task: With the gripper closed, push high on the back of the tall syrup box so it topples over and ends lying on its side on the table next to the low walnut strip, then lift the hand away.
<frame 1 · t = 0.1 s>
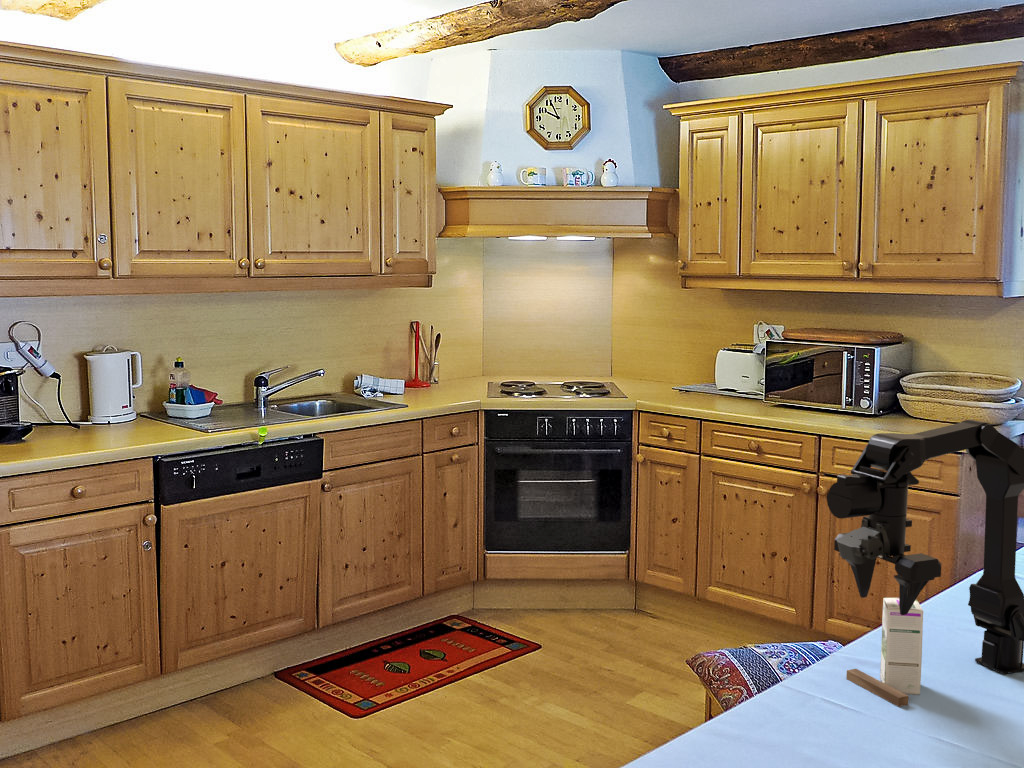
hand: (883, 605, 169), 15 cm above the table, tool pointing down, fingers open, 9 cm apart
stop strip: (876, 691, 171), on the table
syrup box: (899, 688, 173), on the table
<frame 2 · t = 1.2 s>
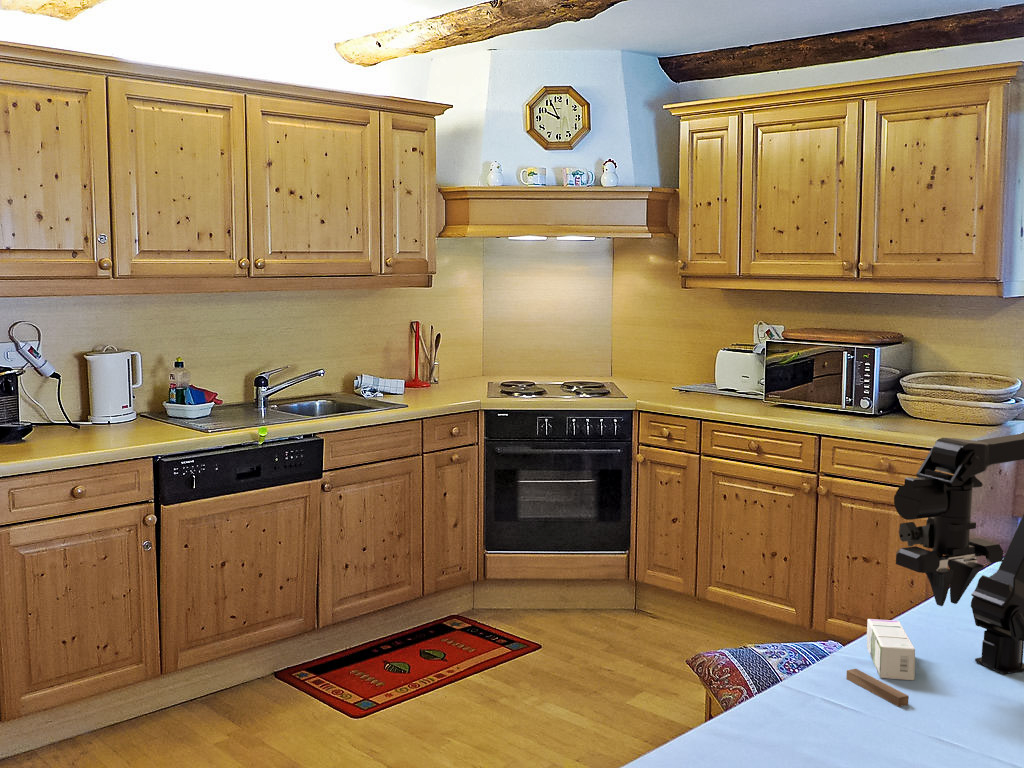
hand: (946, 604, 175), 13 cm above the table, tool pointing down, fingers open, 3 cm apart
syrup box: (897, 664, 175), point 3 cm above the table
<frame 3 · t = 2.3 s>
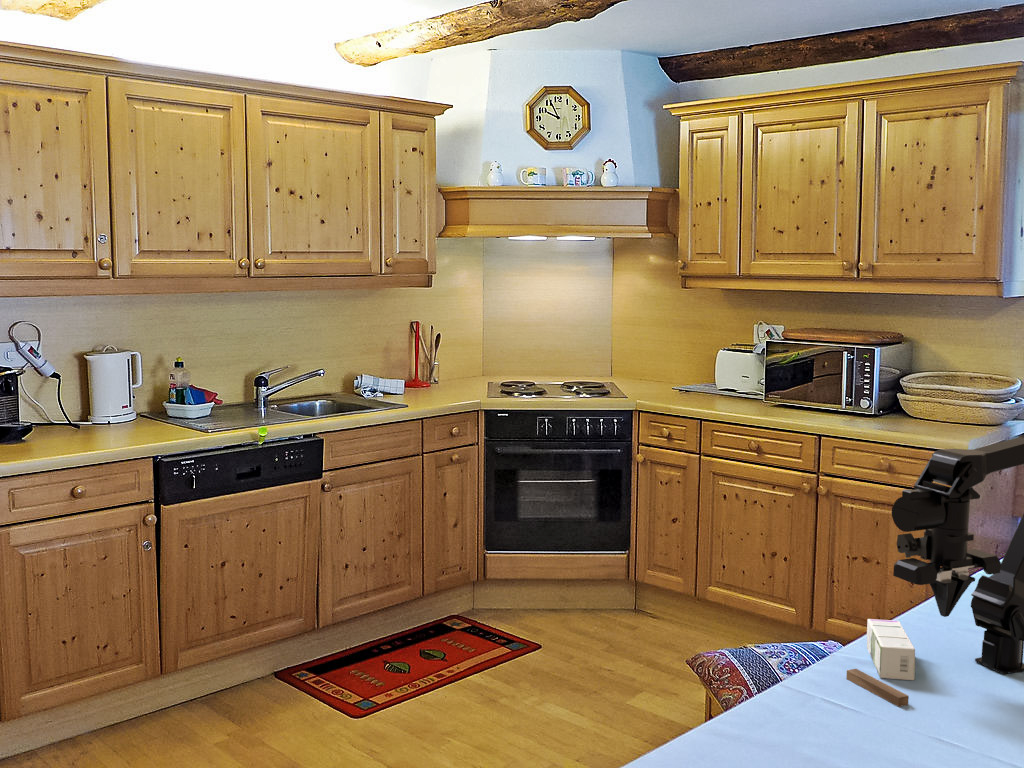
hand: (944, 615, 175), 11 cm above the table, tool pointing down, fingers closed
nothing on the table moved.
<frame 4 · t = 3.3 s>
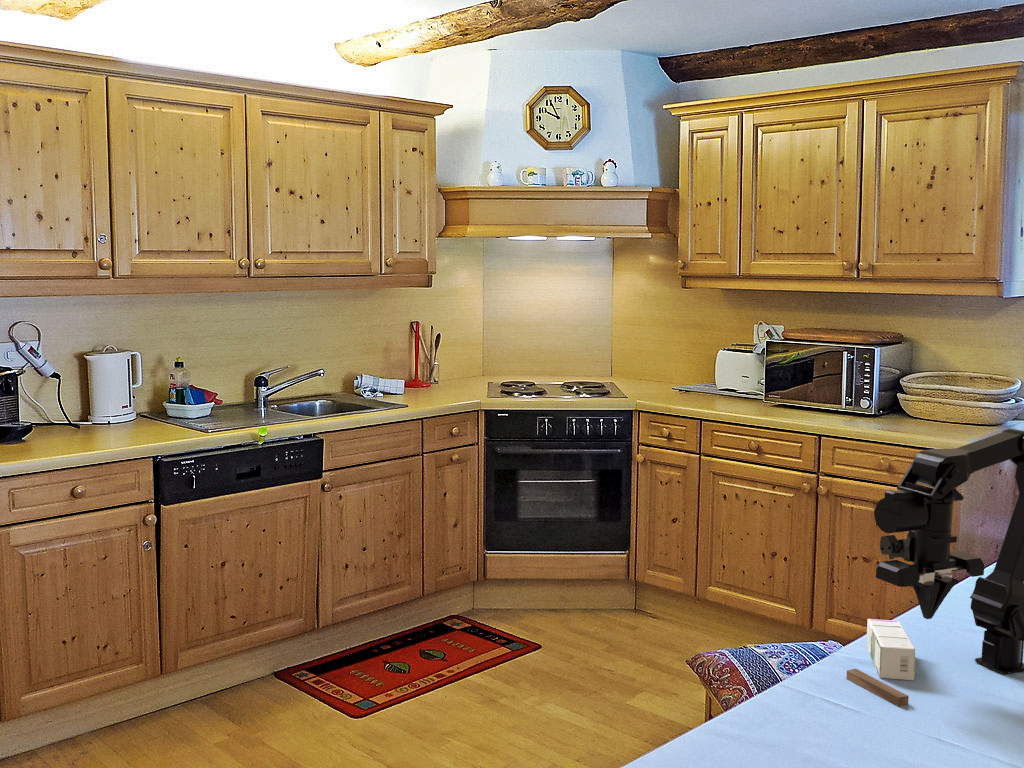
hand: (927, 618, 174), 11 cm above the table, tool pointing down, fingers closed
nothing on the table moved.
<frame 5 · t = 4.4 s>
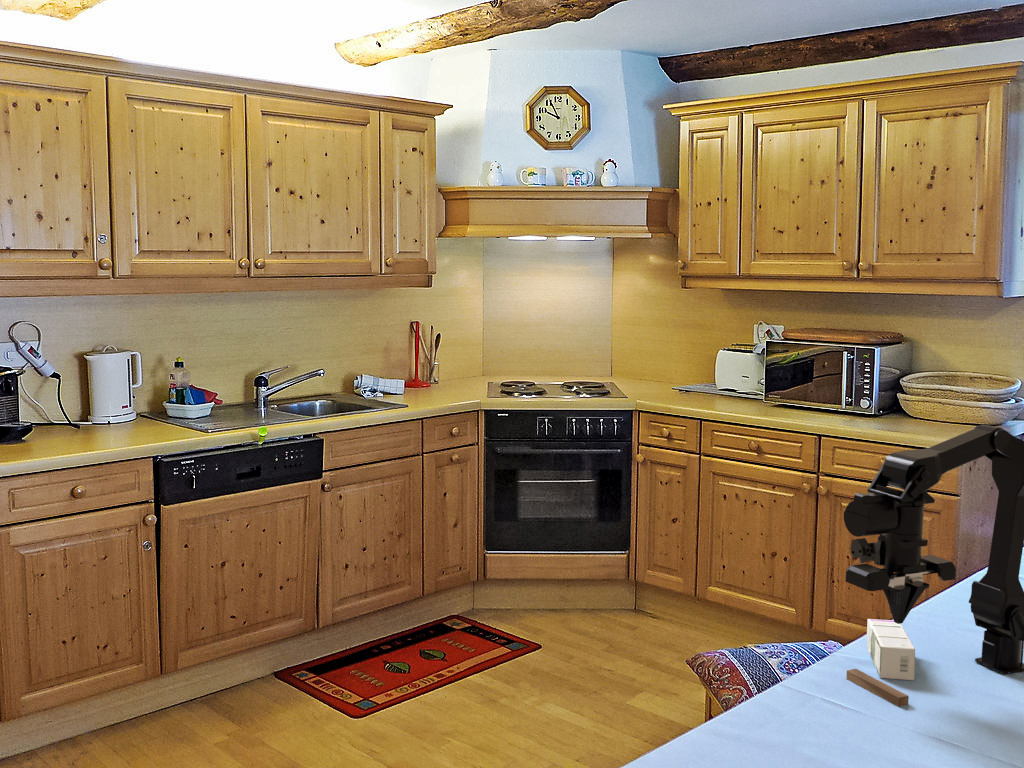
hand: (898, 622, 171), 11 cm above the table, tool pointing down, fingers closed
nothing on the table moved.
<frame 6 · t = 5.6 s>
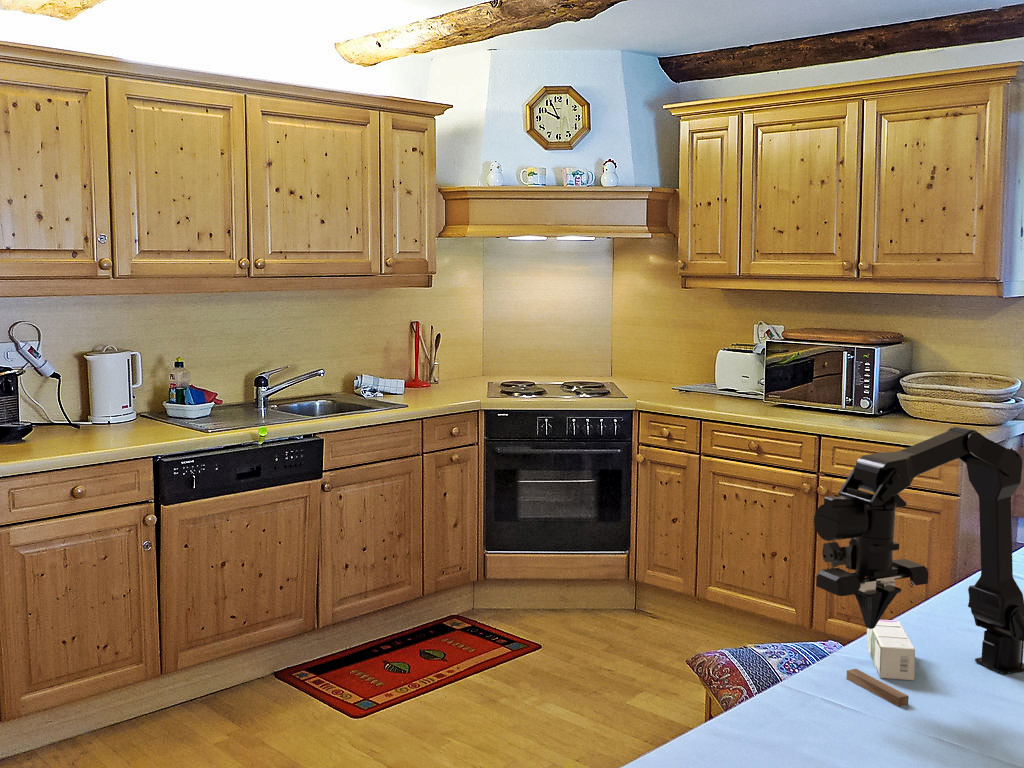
hand: (869, 628, 169), 11 cm above the table, tool pointing down, fingers closed
nothing on the table moved.
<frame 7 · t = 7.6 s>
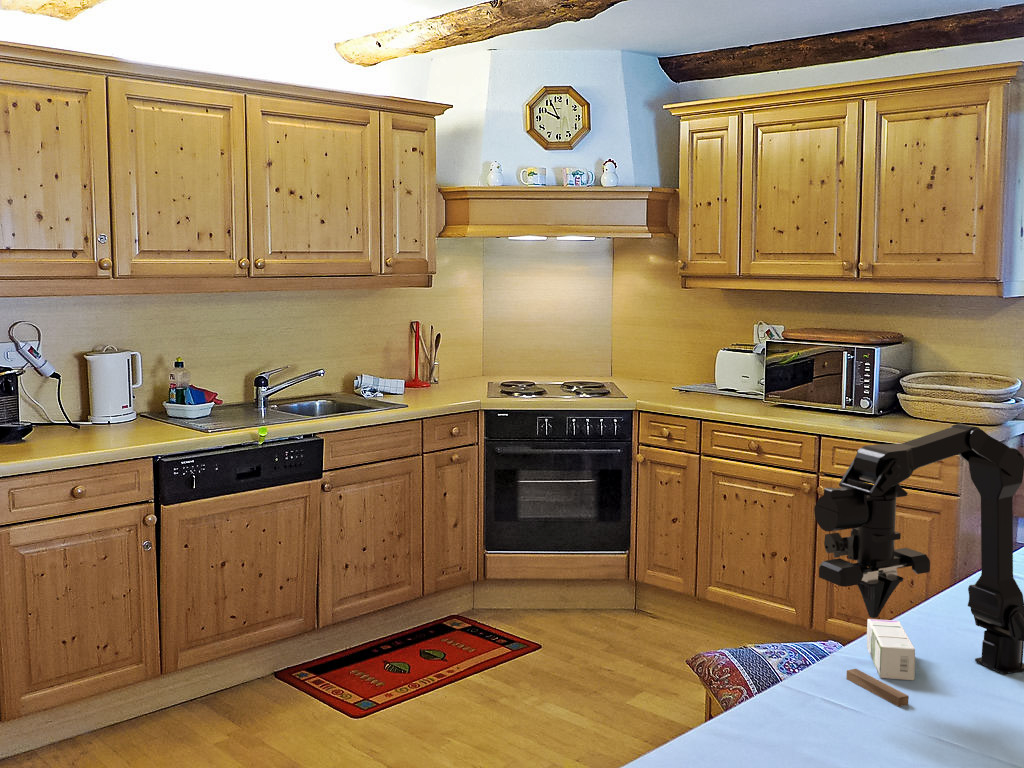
hand: (873, 617, 170), 13 cm above the table, tool pointing down, fingers closed
nothing on the table moved.
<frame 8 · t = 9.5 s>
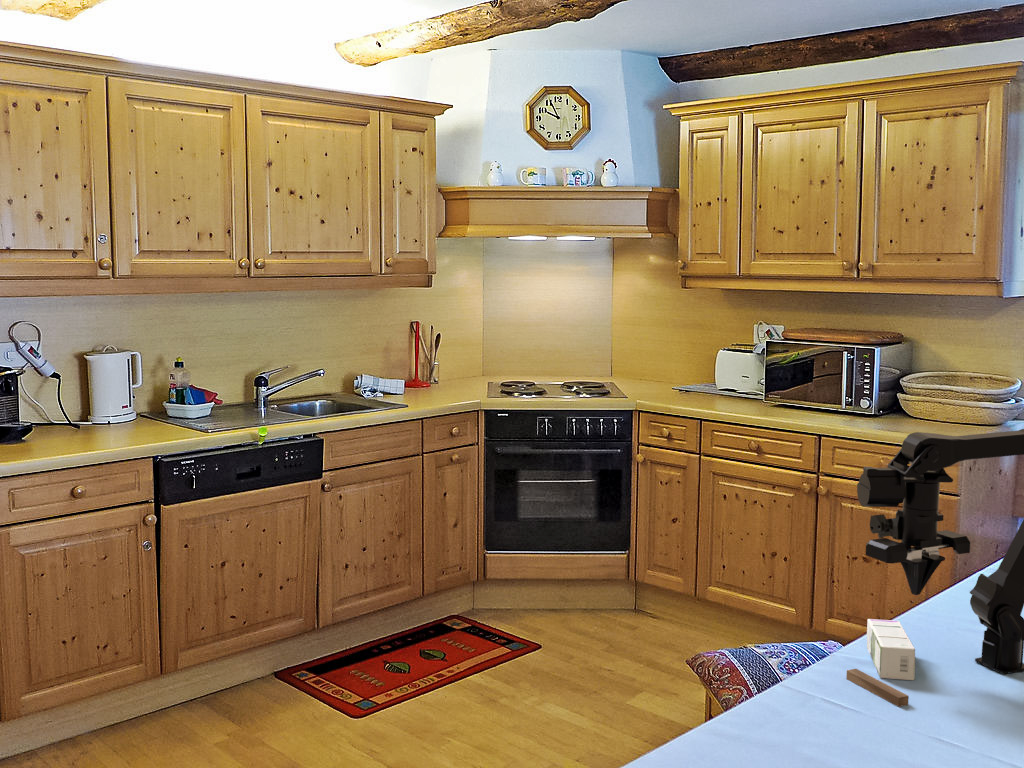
hand: (915, 594, 180), 13 cm above the table, tool pointing down, fingers closed
nothing on the table moved.
at the end: syrup box tilted 90°; syrup box inside the target area (9.2 cm from its centre), point 2.9 cm above the table; the gripper is holding nothing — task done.
